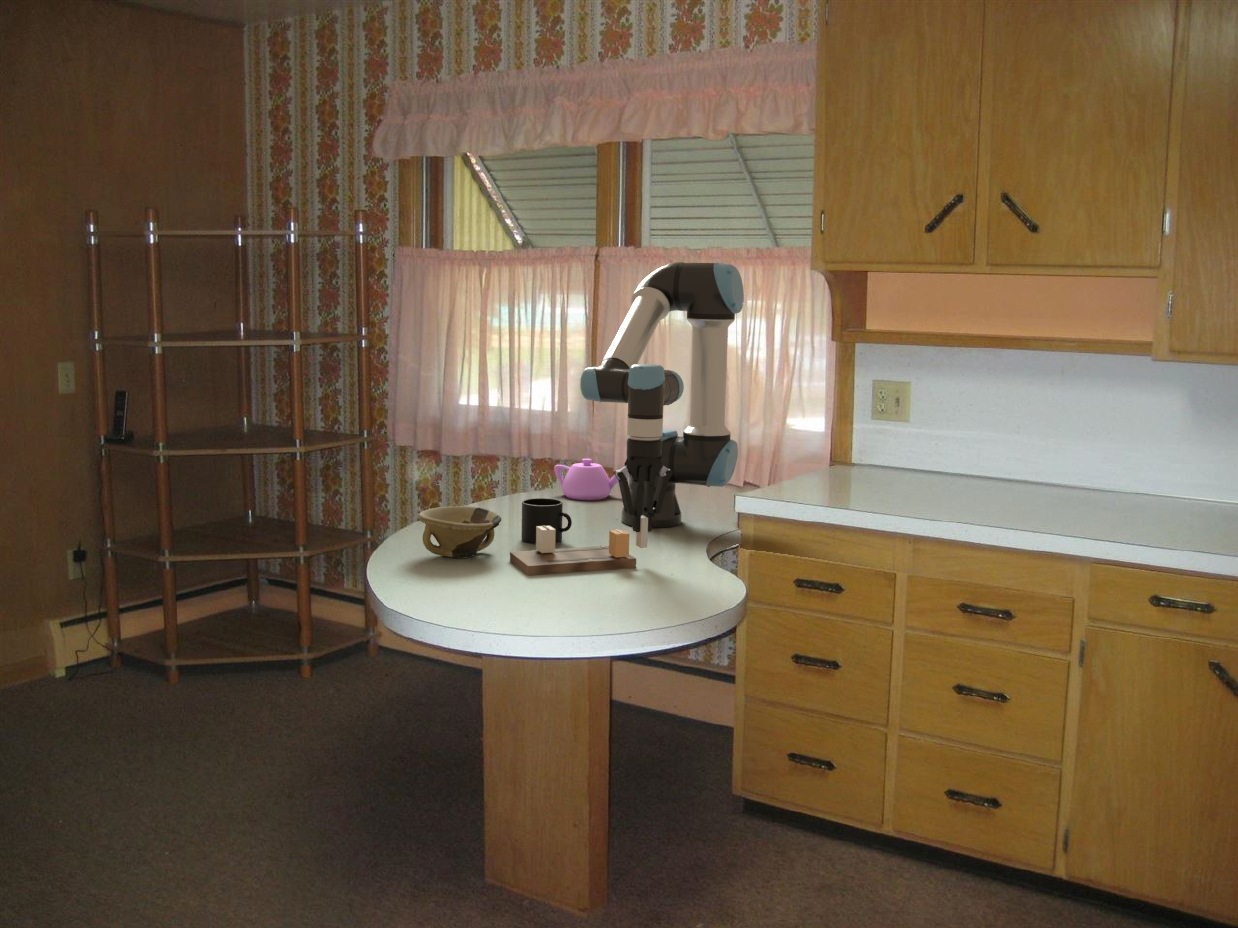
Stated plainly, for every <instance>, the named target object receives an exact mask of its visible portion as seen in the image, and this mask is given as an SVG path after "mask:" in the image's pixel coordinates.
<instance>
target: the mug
mask: <svg viewBox="0 0 1238 928" xmlns="http://www.w3.org/2000/svg"><path fill="white" fill-rule="evenodd" d="M563 505H564V504H563V501H562V500H559V499H556V498H555V499H554V498H547V497H546V498H545V497H544V498H543V497H542V498H541V497H539V498H537V497H536V498H528V499H524V500H522V501H521V536H520V537H521V541H522V542H524V543H527V544H534V545H536V526H542V525H545V526H551V527H552V528H554V529H555V544H557V543H559V542H561V541H562V540H563V532H567V531H569V530H570V529H571V527H572V524H573V521H572V518H571V515H570V514H568V513H566V512H564V511H563ZM563 517H564V518H565V519H566V521H567V526H566V527H563Z"/></svg>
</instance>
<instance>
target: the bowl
mask: <svg viewBox="0 0 1238 928" xmlns="http://www.w3.org/2000/svg"><path fill="white" fill-rule="evenodd" d="M418 517H419V521H420V522H421V523H422V524H424V525H425V527H424V530H423V533H422V543H423V546H424V547H425V549H426V550H428V551H429V552H430V553H432V554H434V555H437V556H441V557H447V558H452V559H467V558H471V557H473V556H475V555H476V554H477V553H478V552H480V551H482V550H485V549H486V548H488V547H490V545H491V544H492V543H493V541H494V539H495V529H496V528H497V527H498V526H500V523H501V521H502V517H501V515H499V514H498V513H496V512H494V511H493V510H489V509H486V508H481V507H478V506H476V507H475V506H469V505H467V506H466V505H463V506H462V505H459V506H457V505H456V506H439V507H434V508H433V507H432V508H429V509H426V510H422V511H420V512H419V513H418ZM432 536H433V537H434V540H435V541H436V542H437V543H438V545H435V544H434V543H433V542H432V541H431V537H432Z"/></svg>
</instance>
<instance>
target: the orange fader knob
mask: <svg viewBox="0 0 1238 928" xmlns="http://www.w3.org/2000/svg"><path fill="white" fill-rule="evenodd" d="M608 537H609V538H608V543H609V544H608V546H609V554H611V555H612V556H614V557H629V555H630V533H629V532H627V531H626V530H624V529H617V528H615V529H612V530H609V535H608Z"/></svg>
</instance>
